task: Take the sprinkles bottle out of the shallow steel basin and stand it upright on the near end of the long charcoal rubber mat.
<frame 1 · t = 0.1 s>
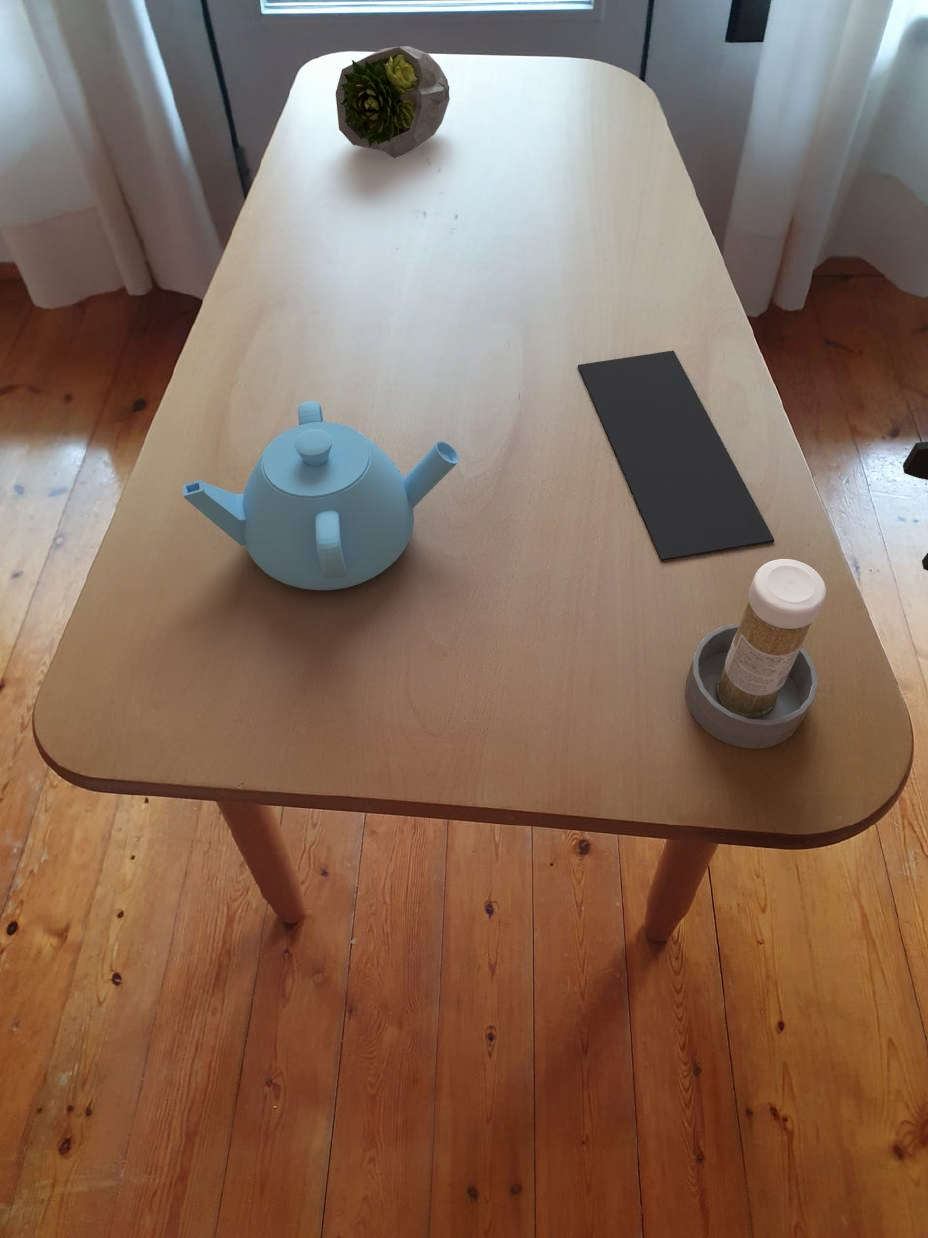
hand: (919, 503, 55), 20 cm above the table, tool horizontal, fingers open, 7 cm apart
mat: (667, 447, 87), on the table
potted plant: (395, 149, 121), on the table
teapot: (336, 538, 82), on the table
sprinkles bottle: (744, 696, 71), resting on basin
basin: (744, 697, 71), on the table
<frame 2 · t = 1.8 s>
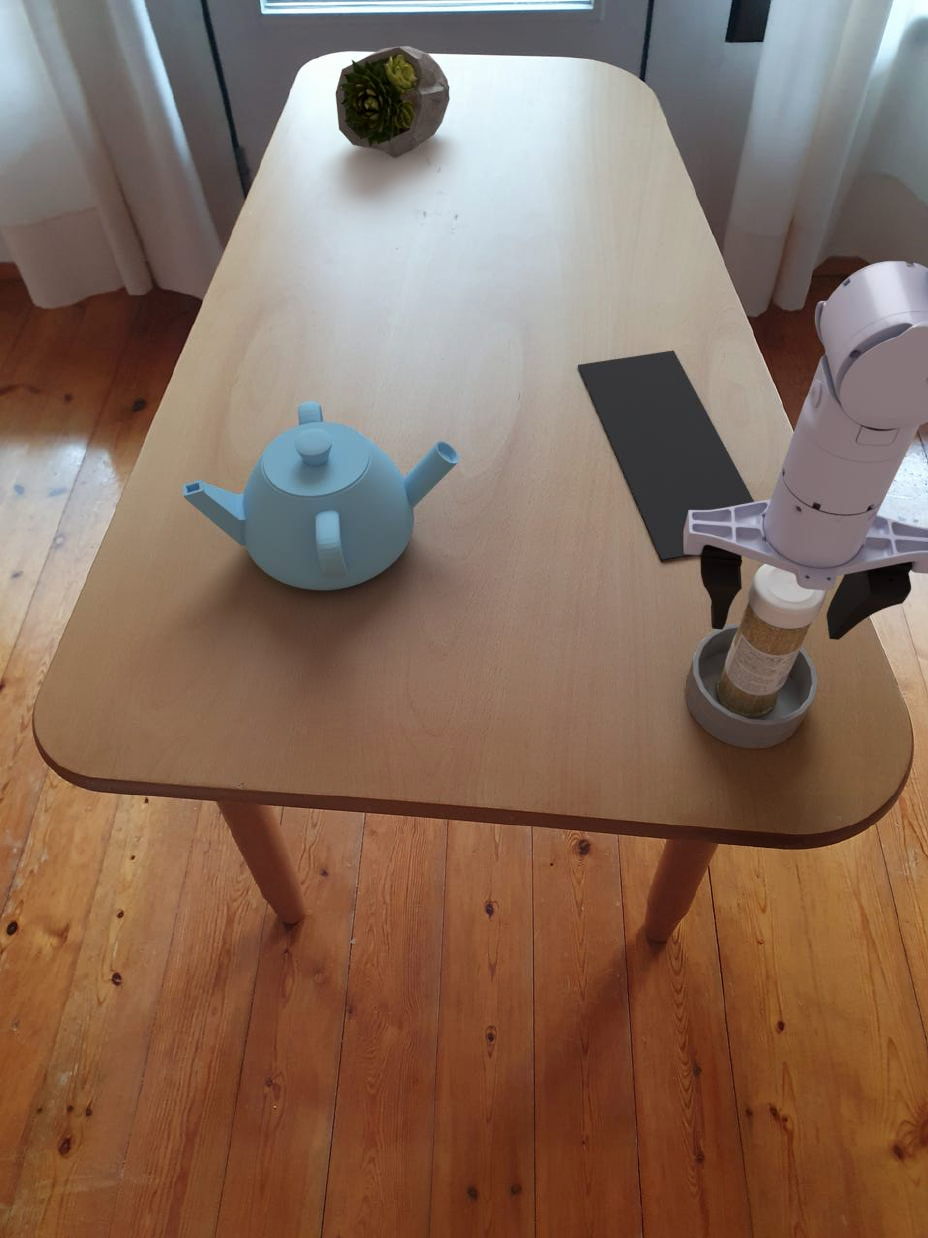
hand: (774, 622, 63), 10 cm above the table, tool pointing down, fingers open, 7 cm apart
nothing on the table moved.
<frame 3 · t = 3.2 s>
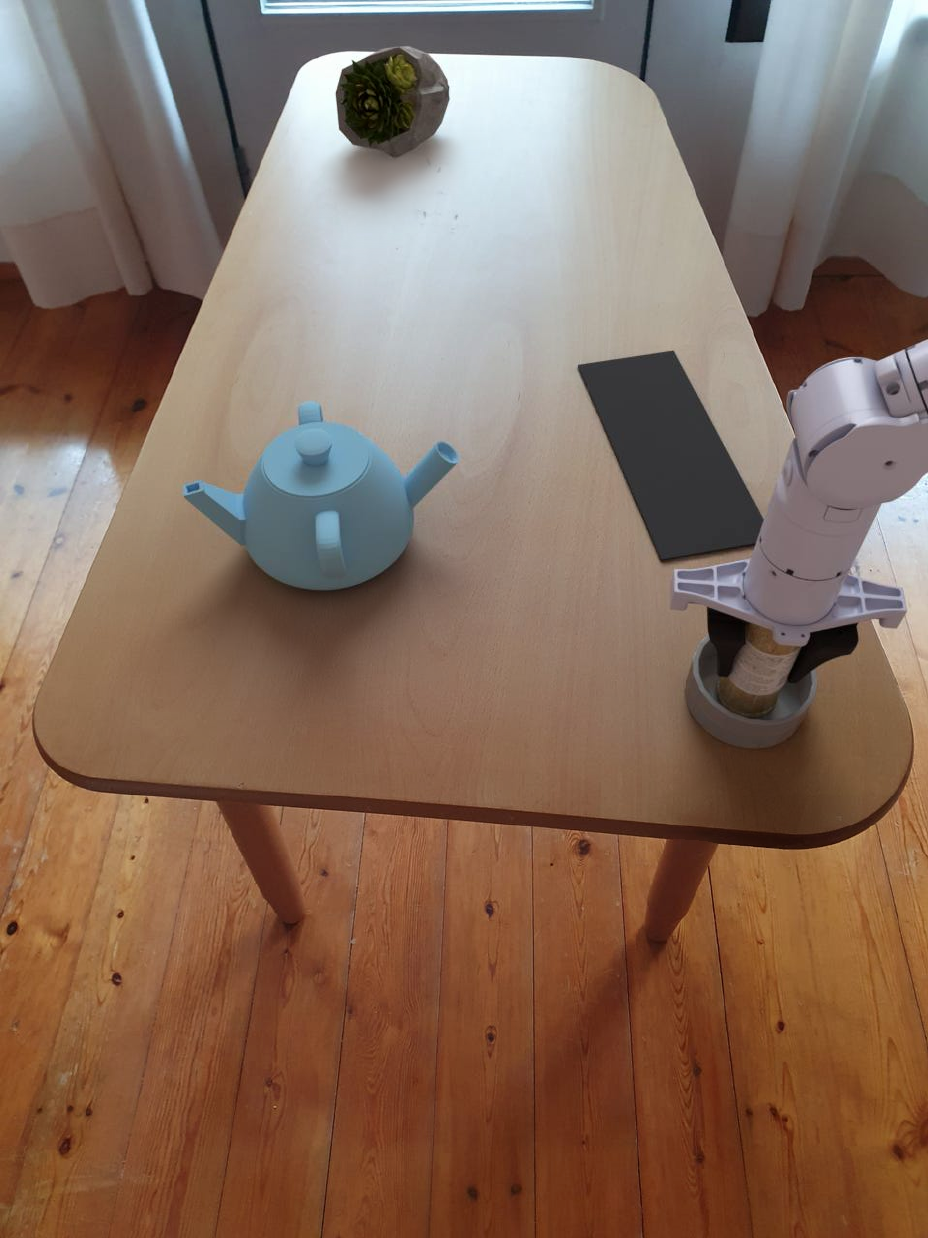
hand: (756, 668, 68), 4 cm above the table, tool pointing down, fingers closed on sprinkles bottle, 4 cm apart
sprinkles bottle: (744, 696, 71), resting on basin, touching gripper
everything else where it was.
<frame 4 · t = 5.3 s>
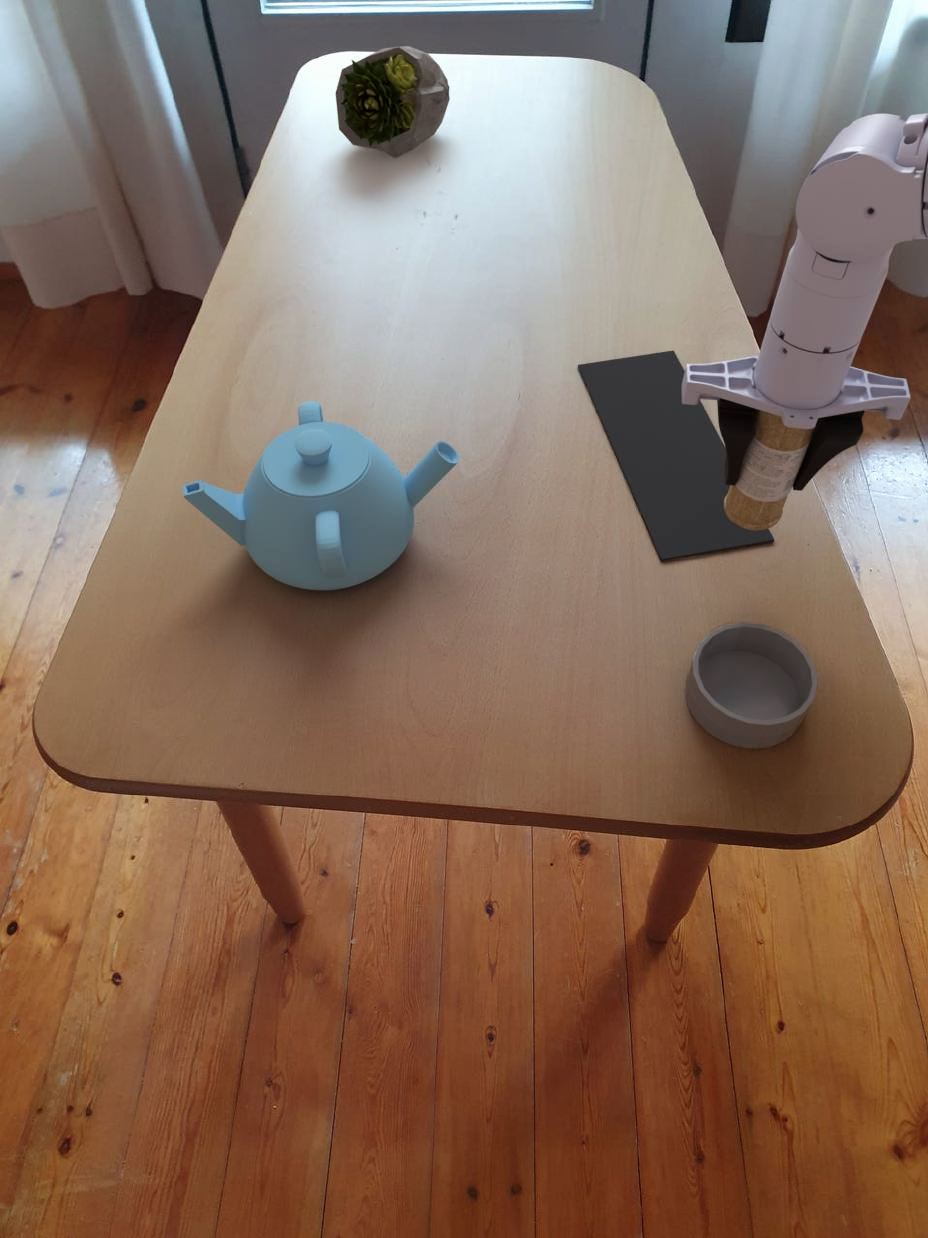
hand: (762, 478, 70), 10 cm above the table, tool pointing down, fingers closed on sprinkles bottle, 4 cm apart
sprinkles bottle: (750, 513, 73), point 7 cm above the table, touching gripper
everything else where it was.
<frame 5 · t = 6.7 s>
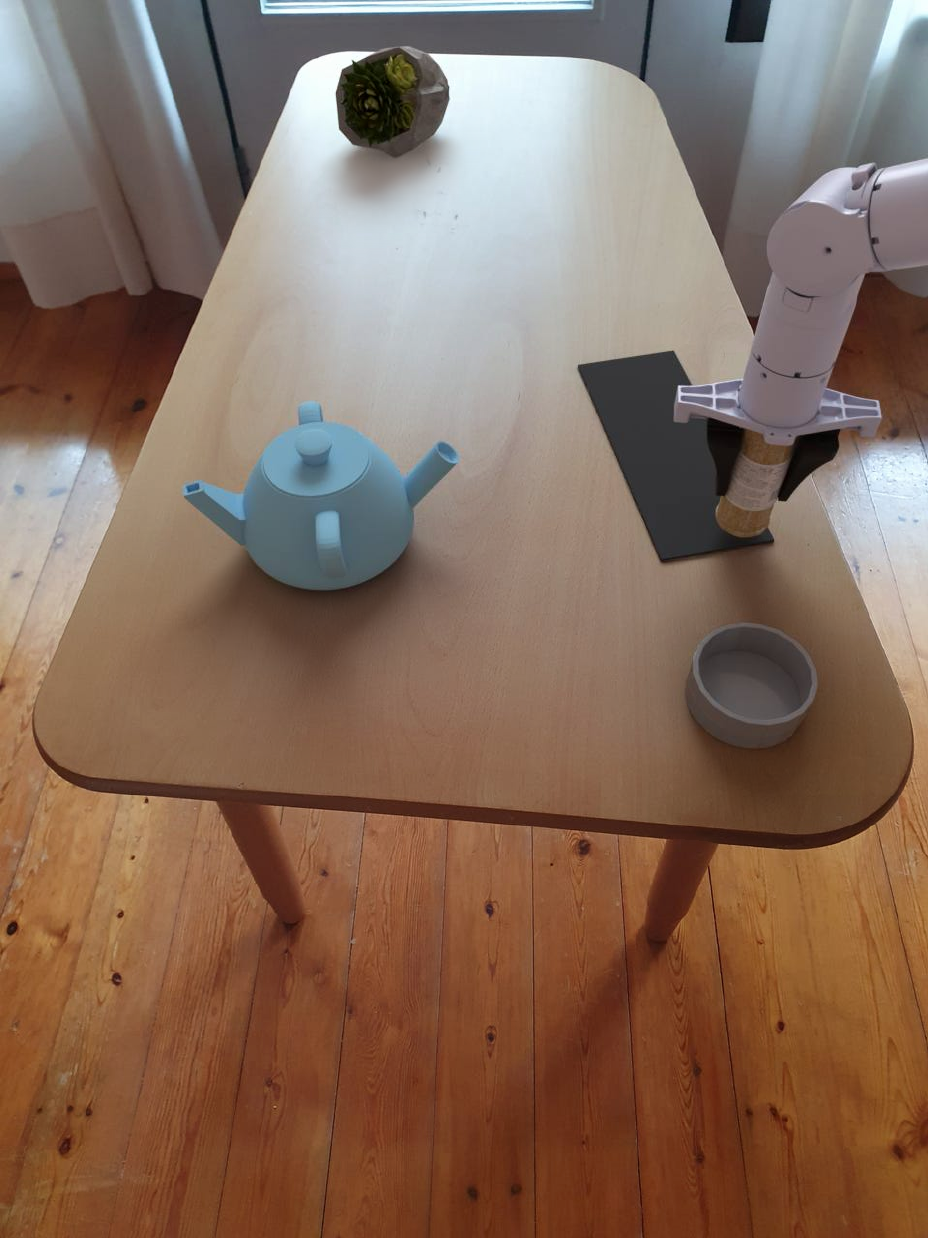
hand: (750, 489, 76), 5 cm above the table, tool pointing down, fingers closed on sprinkles bottle, 4 cm apart
sprinkles bottle: (740, 521, 79), point 2 cm above the table, touching gripper
everything else where it was.
when the fingers open (4 cm above the table, at t = 7.7 s): sprinkles bottle stays where it is, resting on mat.
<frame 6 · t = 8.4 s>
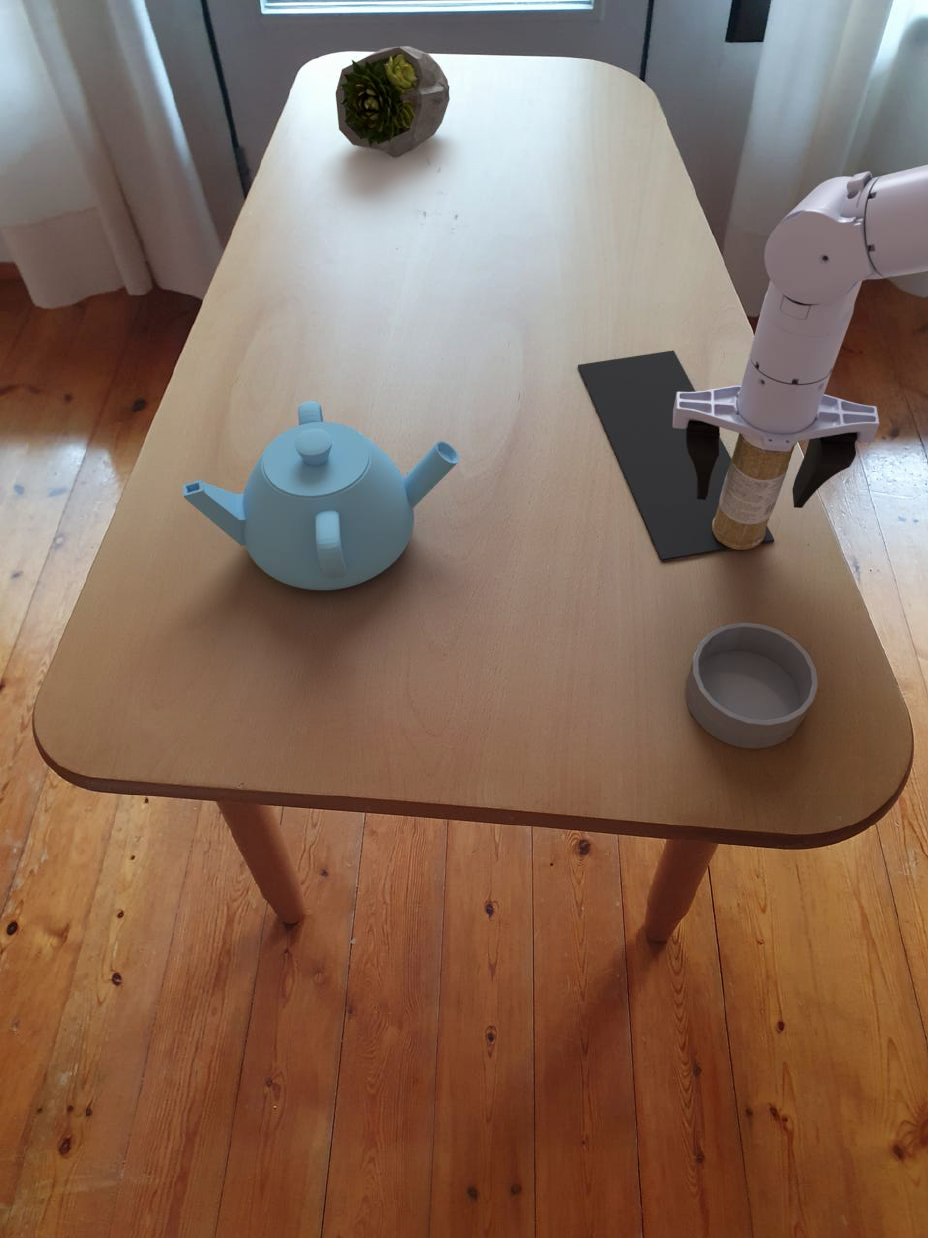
hand: (748, 494, 77), 5 cm above the table, tool pointing down, fingers open, 7 cm apart
sprinkles bottle: (736, 533, 81), resting on mat
everything else where it was.
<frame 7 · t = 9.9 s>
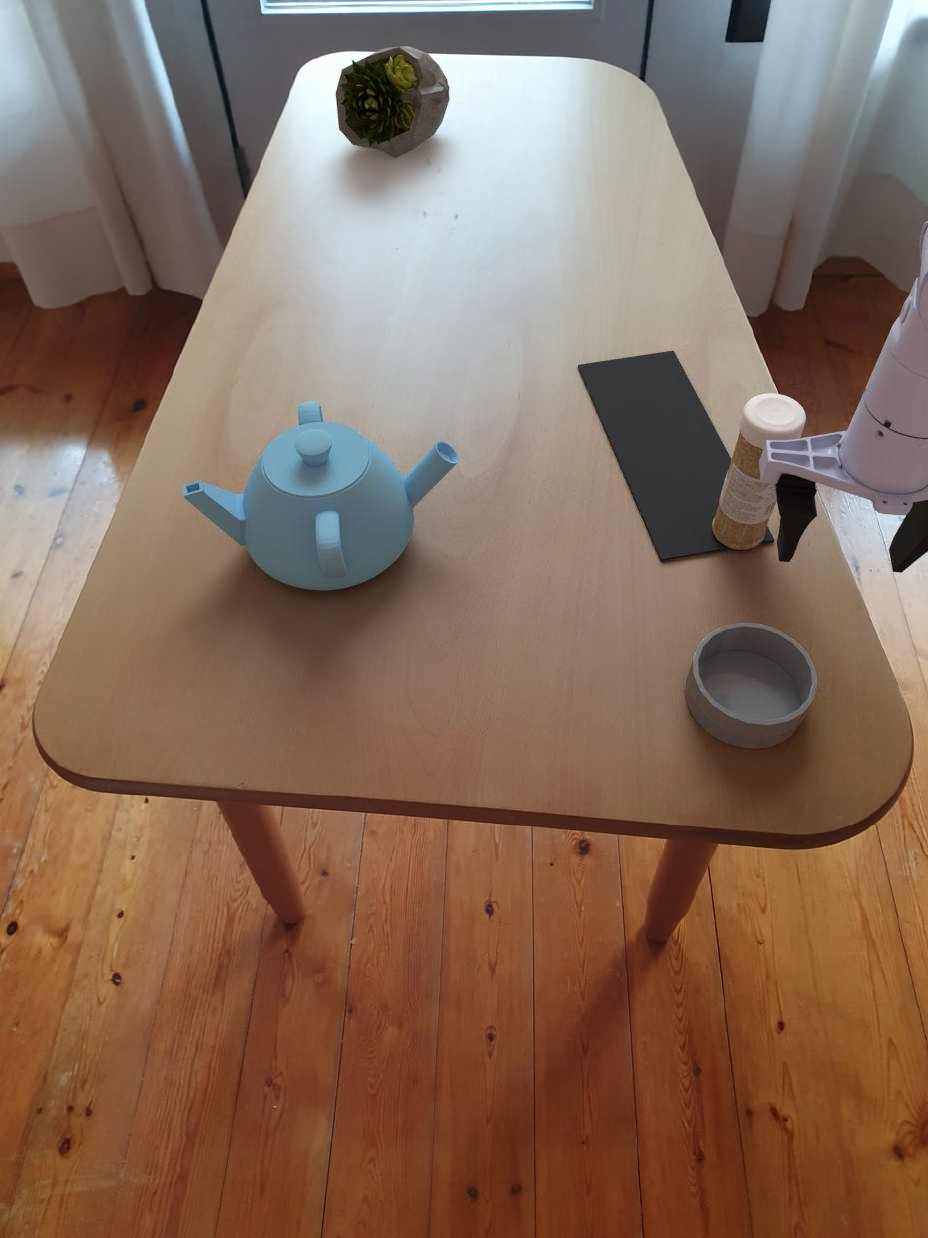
hand: (839, 556, 66), 10 cm above the table, tool pointing down, fingers open, 7 cm apart
nothing on the table moved.
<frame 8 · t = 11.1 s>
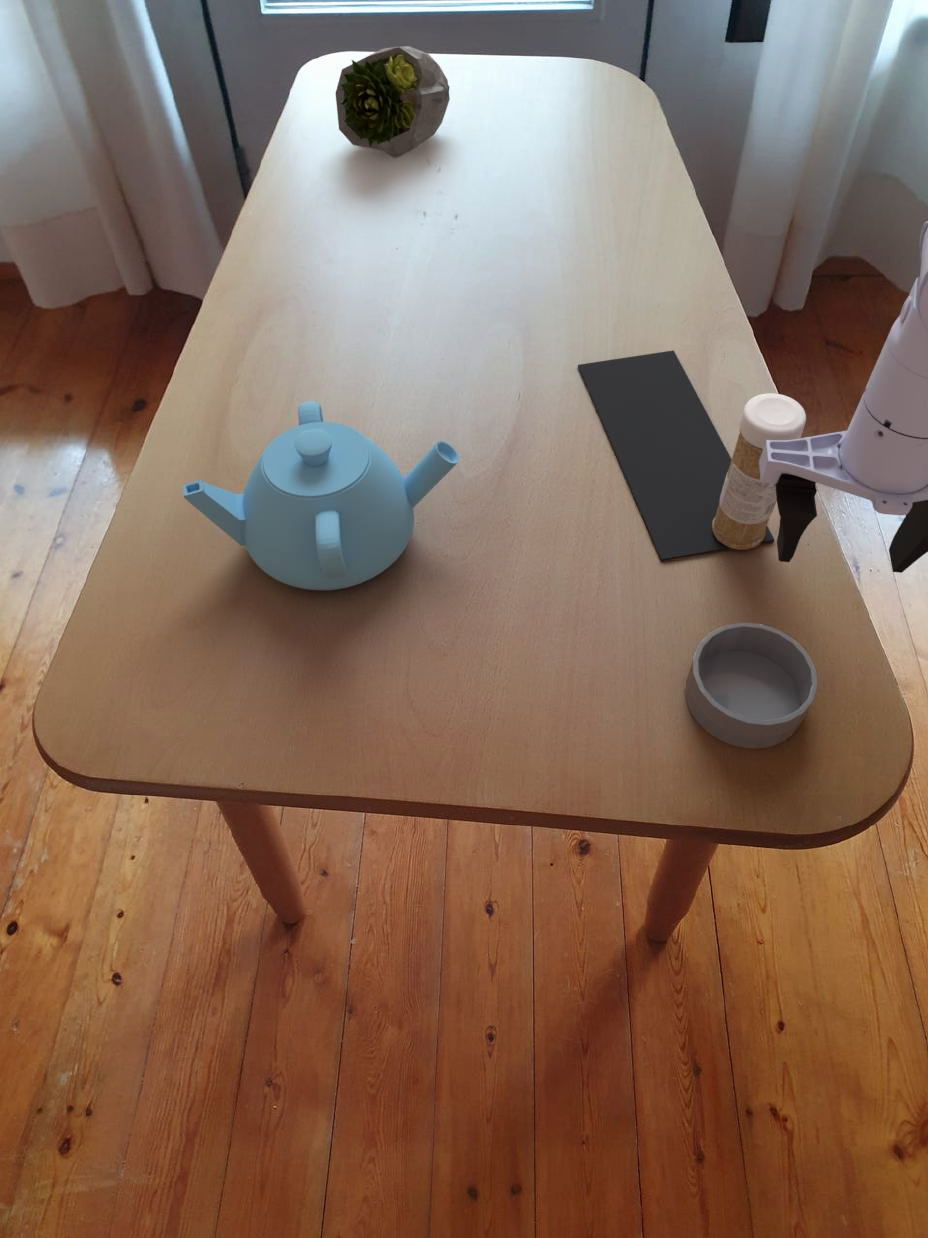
hand: (839, 556, 66), 10 cm above the table, tool pointing down, fingers open, 7 cm apart
nothing on the table moved.
at the end: sprinkles bottle 0.1 cm from the target spot on the mat, point 0.1 cm above the mat's base; sprinkles bottle tilted 0°; the gripper is holding nothing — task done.
